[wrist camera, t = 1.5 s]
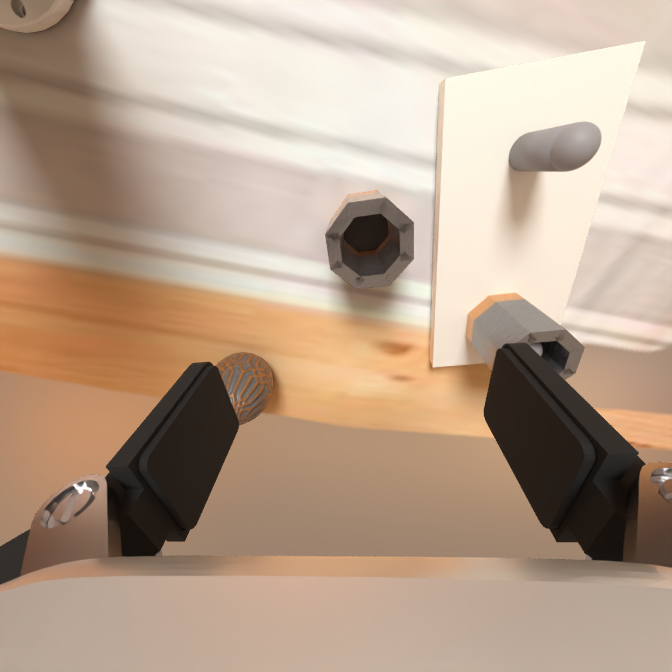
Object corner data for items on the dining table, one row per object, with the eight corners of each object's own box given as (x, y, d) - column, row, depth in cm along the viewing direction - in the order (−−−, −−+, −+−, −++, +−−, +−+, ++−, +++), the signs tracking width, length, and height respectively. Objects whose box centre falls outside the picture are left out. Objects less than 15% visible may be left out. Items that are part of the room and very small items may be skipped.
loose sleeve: (328, 197, 24) (320, 206, 18) (397, 187, 23) (413, 193, 17) (337, 264, 27) (333, 291, 21) (399, 256, 26) (413, 282, 20)
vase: (245, 332, 31) (212, 384, 24) (290, 370, 34) (273, 428, 26) (209, 364, 34) (169, 420, 26) (253, 397, 36) (228, 457, 29)
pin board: (439, 84, 20) (483, 41, 13) (625, 49, 19) (776, -18, 12) (429, 359, 32) (450, 409, 25) (542, 350, 31) (595, 399, 24)
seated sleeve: (469, 297, 26) (504, 335, 20) (535, 290, 26) (592, 327, 20) (464, 348, 29) (493, 395, 23) (523, 343, 29) (569, 390, 23)
